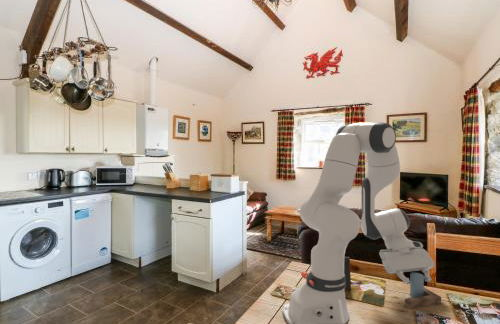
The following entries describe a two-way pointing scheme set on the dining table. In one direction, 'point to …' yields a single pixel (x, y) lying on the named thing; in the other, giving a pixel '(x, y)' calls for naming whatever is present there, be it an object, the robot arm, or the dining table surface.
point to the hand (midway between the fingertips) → (418, 282)
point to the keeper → (416, 284)
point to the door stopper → (347, 272)
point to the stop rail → (423, 300)
